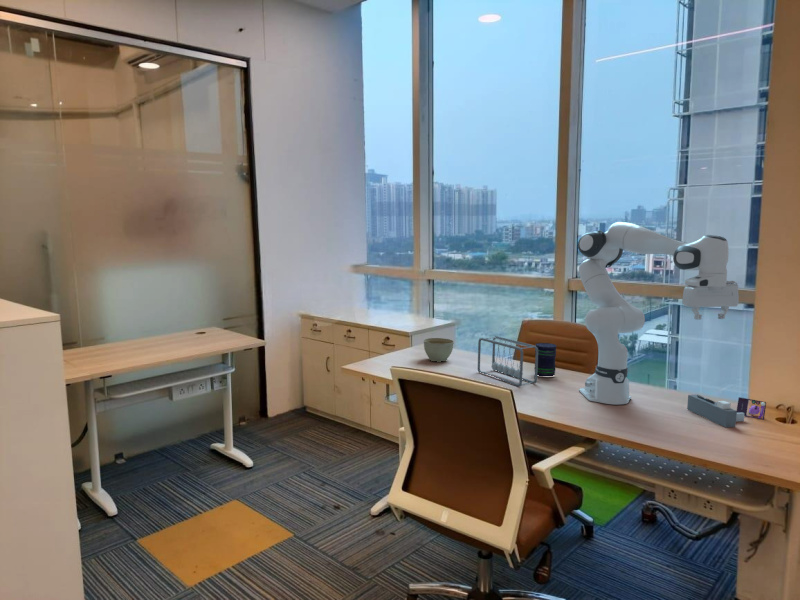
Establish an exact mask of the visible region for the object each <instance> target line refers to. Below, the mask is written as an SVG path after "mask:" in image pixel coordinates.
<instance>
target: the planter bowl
mask: <svg viewBox="0 0 800 600" xmlns="http://www.w3.org/2000/svg"><path fill="white" fill-rule="evenodd" d="M454 344H455V341H454V340H453V339H451V338H450V339H449V338H444V337H443V338H441V337H430V338H424V339H423V348H424V353H425V354H426V356H427V357H428V360H429V361H430V360H431V361H430V362H432V361H437V362H436V363H442V362H441V361H446V360H447V361H448V358H449V357H450V355H451V354H452V352H453V349H454ZM447 361H446V362H447Z"/></svg>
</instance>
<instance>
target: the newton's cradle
mask: <svg viewBox="0 0 800 600" xmlns="http://www.w3.org/2000/svg"><path fill="white" fill-rule="evenodd" d="M482 341H484V342H487V343H491V344H492V357H491V358H492V359H491V369H492V370H497V371H499V372H503V373H505V374H508V375H511V376H514V377H517V378H519V379H518V380H519V383H517V382H513V381H510V380H508V379H504V378H501V377H498V376H496V375H492V374H489V373H488V372H485V371H481V351H482V350H481V347H482V346H481V344H482ZM508 343H510V344H508ZM496 345H497V346H498V351H500V346H502V347H503V349H505V347H506V348H509V349H508V350H509V351H508V352H509V353H508V354H511V349H514V351H515V352H514V354H517V351H519V352H520V356H519V357H520V361H519V365H518V364H517V365H516V366H517V369H516V368H514V366H513V365H514V364H515V363H514V362H515V361H513V364H510V367H509V366H508V363H509V361H506V359H504V357H502V358H501V355H500V354H499V353H497V356H496ZM520 346H521V347H520ZM477 347H478V348H477V371H478V373H479V372H481V373H484V374H488V375H491V376H494V377H496V378H499V379H501V380H504V381H506V382H508V383H507V384H509V383H511V384H510V385H512V384H513V385H512V386H515V385H516V387H518V386H519V387H521V386H523V385H528V384H529V382H530V384H532V383H535V384H536V383H537V382H538V376H537V371H538V348H537V347H536V345H533V344H530V343H526V342H521V341H518V340H513V339H510V338H505V337H503V336H502V337H501V336H496V335H495V336H494V337H493V336H492V337H485V338H483V337H481V338H480V337H479V339H478V344H477ZM530 348H531V349H534V351H535V350H536V356H535V357H534V358H535V359H534V360H535V361H534V362H535V363H534V368H535V369H534V373H535V375H534V380H531V379H527V378H525V377H523V375H524V374H523V371H524V370H523V368H524V367H523V366H524V364H523V363H524V350H525V349H530ZM523 349H524V350H523ZM502 355H506V353H505V350H503V352H502ZM495 356H496V357H498V356H499V357H498V358H499V359H501V361H504V362H505V364H506V365H504V364H503V362H500V364H499V363H498V362H497V360H498V358H496V357H495ZM495 358H496V359H495ZM509 358H510V360H512V357H511V355H509V356H508V359H507V360H509ZM503 359H504V360H503ZM515 359H516V360H518V358H517V356H514V358H513V360H515ZM499 372H498V373H499ZM505 374H504V375H505ZM508 375H507V376H508ZM511 376H510V377H511ZM514 377H513V378H514ZM517 378H516V379H517ZM522 379H523V380H525V381H524V382H525V383H523V380H522ZM526 381H528V382H526ZM506 382H505V383H506Z"/></svg>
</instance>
